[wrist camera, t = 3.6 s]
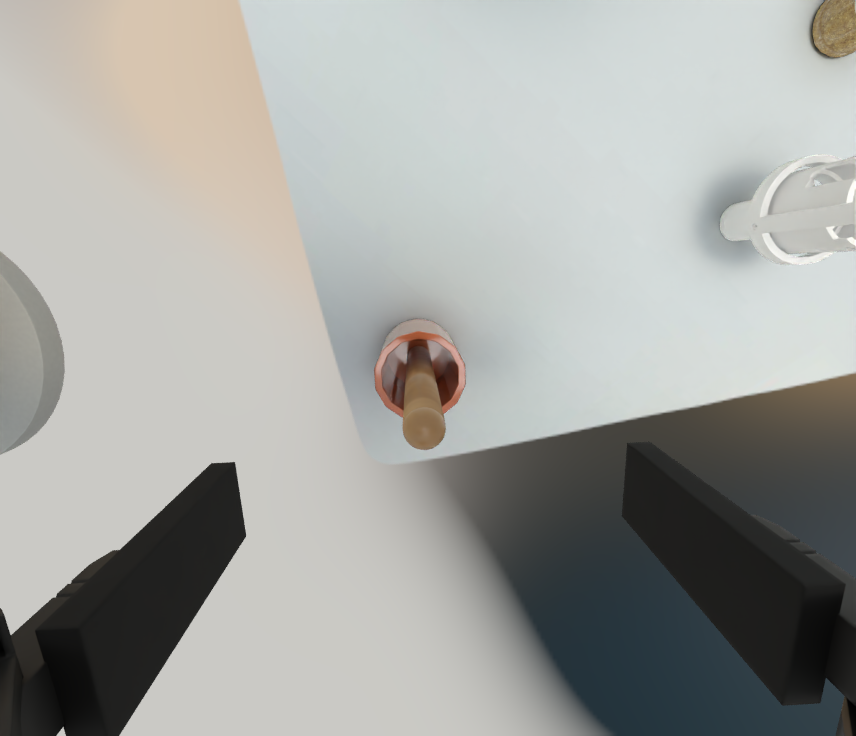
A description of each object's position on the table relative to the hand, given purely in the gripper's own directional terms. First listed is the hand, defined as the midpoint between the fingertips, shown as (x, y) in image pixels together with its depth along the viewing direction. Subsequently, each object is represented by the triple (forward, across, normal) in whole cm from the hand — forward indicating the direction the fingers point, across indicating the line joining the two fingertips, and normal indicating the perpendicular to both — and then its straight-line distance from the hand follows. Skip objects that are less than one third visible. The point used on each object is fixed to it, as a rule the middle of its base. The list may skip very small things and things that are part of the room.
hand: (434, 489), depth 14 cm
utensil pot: (+23, 0, 0) cm, 23 cm away
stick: (+22, 0, 0) cm, 23 cm away
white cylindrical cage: (+23, +27, +10) cm, 37 cm away
